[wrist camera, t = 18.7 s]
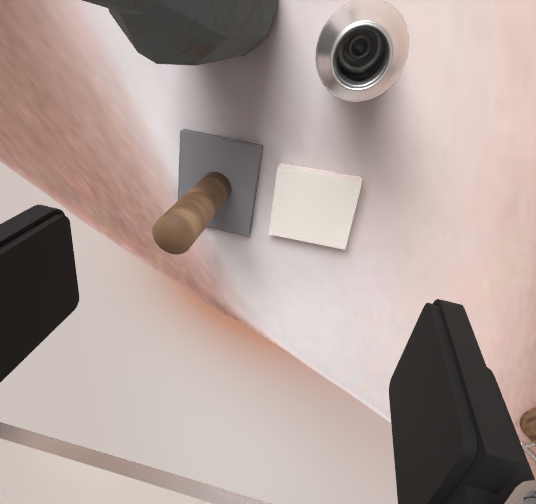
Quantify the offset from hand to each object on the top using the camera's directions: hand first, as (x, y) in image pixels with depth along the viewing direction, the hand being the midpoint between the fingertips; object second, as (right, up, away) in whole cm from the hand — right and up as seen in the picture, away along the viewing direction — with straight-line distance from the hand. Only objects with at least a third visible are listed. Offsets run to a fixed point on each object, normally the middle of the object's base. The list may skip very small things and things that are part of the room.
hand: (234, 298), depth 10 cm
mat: (-5, +10, +40) cm, 42 cm away
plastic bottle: (+10, +22, +30) cm, 39 cm away
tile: (+11, +6, +38) cm, 40 cm away
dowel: (-6, +9, +39) cm, 41 cm away
